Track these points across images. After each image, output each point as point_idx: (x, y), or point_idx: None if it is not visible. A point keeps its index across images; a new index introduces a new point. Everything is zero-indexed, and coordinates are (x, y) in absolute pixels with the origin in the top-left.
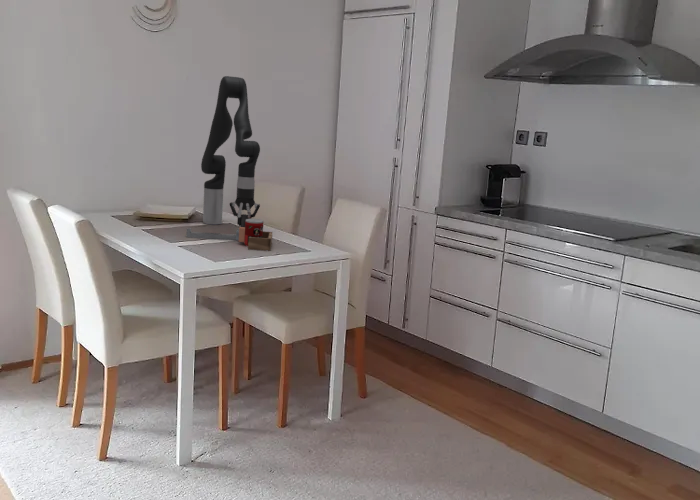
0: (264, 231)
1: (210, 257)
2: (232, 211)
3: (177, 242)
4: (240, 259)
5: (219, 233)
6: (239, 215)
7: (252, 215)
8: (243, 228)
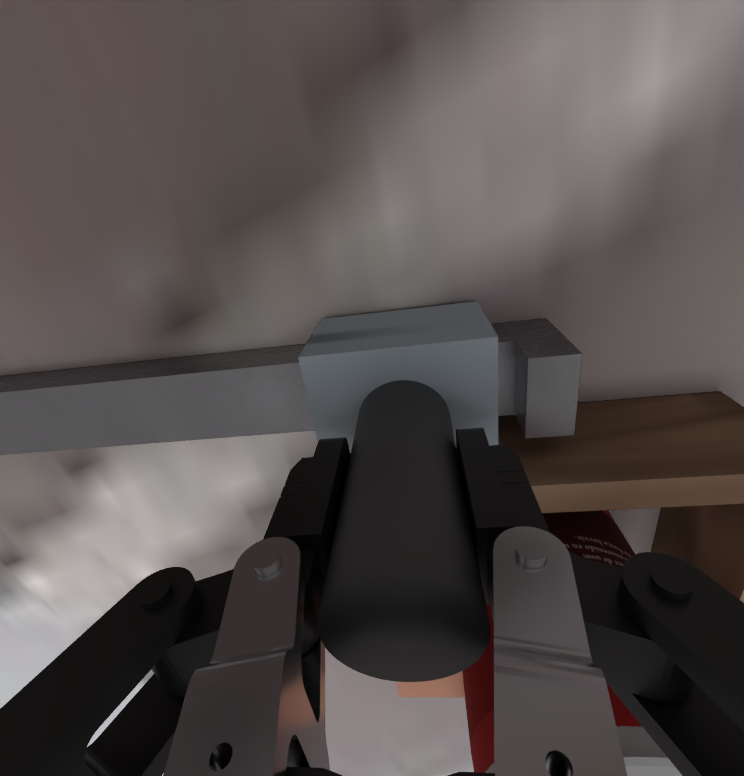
0: (708, 478)
1: (332, 764)
2: (111, 757)
3: (16, 587)
4: (473, 769)
5: (131, 381)
6: (304, 662)
7: (616, 684)
8: (448, 695)
